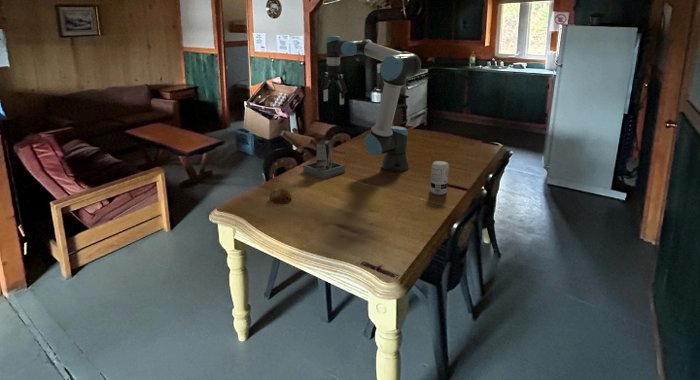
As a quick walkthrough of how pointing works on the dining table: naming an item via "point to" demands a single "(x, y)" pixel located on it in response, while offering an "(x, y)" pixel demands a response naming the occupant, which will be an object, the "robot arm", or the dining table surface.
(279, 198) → the bread roll
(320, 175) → the tray
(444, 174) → the supplement can
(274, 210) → the dining table surface
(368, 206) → the dining table surface
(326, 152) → the coffee box
